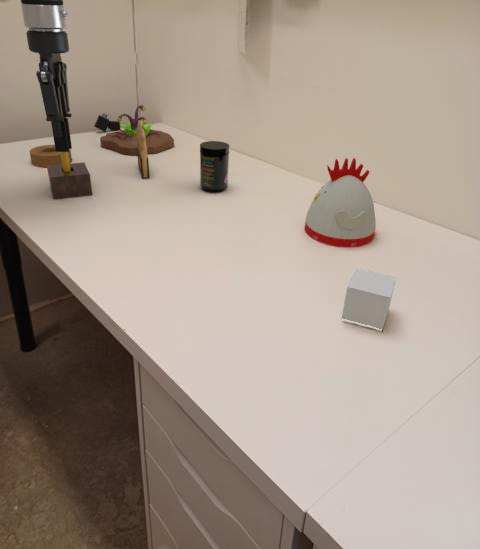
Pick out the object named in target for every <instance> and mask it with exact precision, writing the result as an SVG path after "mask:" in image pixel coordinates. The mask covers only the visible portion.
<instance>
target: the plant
mask: <svg viewBox="0 0 480 549" xmlns="http://www.w3.org/2000/svg"><path fill="white" fill-rule="evenodd" d="M139 109H140V111H141V112H145V111H146V107H145V105H142V104H140V105H139V104H138V105H137V107H136V109H135V112H134V118H133V117H132V116H131V115H129V114H127V113H123V114H121V115H119V116H117V118H116V121H118V122H120V127H122V128H123V129H120V130H118V131H113V132H108V133H106V134H105V135H102V136H100V138H99V141H100V146H101V147H102V148H104V149H107V150H111V151H114V152H117V153H119V154H121V155H127V156H137V157H138V153H137V147H138V145H137V125H138V120H140V122H141V125H142V128H143V130H144V133H145V140H146V146H147V155H148V154H149V155H151V154H152V155H153V154H158V153H160V152H163V151H165V150H168V149H171V148H174V147H175V139H174V138H173V136H172V135H171V134H170V133H168V132H165V131H162V130H155V129H151V128H152V127H153V126H154V122H152V123H151V122H150V123H148V120H147V118H145V117H144V116H141V117H139ZM123 117H127V119H128V120H129V121H126V124H124V123H121V122H122V121H123Z"/></svg>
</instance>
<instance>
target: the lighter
mask: <svg viewBox="0 0 480 549" xmlns="http://www.w3.org/2000/svg"><path fill="white" fill-rule="evenodd" d="M108 116H109V114H107V113H104V112H103V113H101V115H100V114H99V115H98V116H97V119H96V121H95V123H94V125H93V127H94V128H96V129H98V130H100V131H102V132H103V133H106V131H107V130H111V131H120V130H121V125H120V124H121V121H120V122H118V121H117V120H110V118H109V117H108Z"/></svg>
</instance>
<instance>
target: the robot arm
mask: <svg viewBox="0 0 480 549" xmlns="http://www.w3.org/2000/svg"><path fill="white" fill-rule="evenodd" d="M20 3H21V4H20V5H21V10H22V17H23V18H22V19H23V23H24V27H25V28H27V29H28V30H26V32H25V34H26V40H27V41H26V42H27V46H28V50H29V51H30V52H31V53H34V54H38V55H39V63H38V70H37V71H36V78H37V80H38V84H39V88H40V92H41V93H40V94H41V98H42V101H43V106H44V111H45V116H46V118H45V121H46V122H50V123H51V129H52V135H53V143H54V145H55V150H56V152H69V149H70V150H71V149H73V145H72V139H71V138H72V137H71V131H70V124H69V118H72V117H73V116H72V113H70V112H71V109H70V99H69V87H68V76H67V67H68V66H67V63H66V62H64V61H63V60H62V56H61V54H66V53H68V52H69V51H70V44H69V37H68V36H69V35H68V33H67V32H66V31H65V30H64V29H66V27H67V23H66V18H67V17H68V12H67V11H66V10H65V8H64V7H65V6H64V0H20ZM62 112H63V113H62ZM63 119H64V121H63Z"/></svg>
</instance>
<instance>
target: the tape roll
mask: <svg viewBox="0 0 480 549" xmlns="http://www.w3.org/2000/svg"><path fill="white" fill-rule="evenodd" d="M68 155H69V162H70V163H71V162H72V161H73V158H72V151H71V149H69V152H68ZM29 157H30V162H31V165H33V166H35V167H40V168H47V166H48V165H59V164H62V159H61V153H60V152H56V150H55V144H44V145H39V146H35V147H32V148H30V149H29Z"/></svg>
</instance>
